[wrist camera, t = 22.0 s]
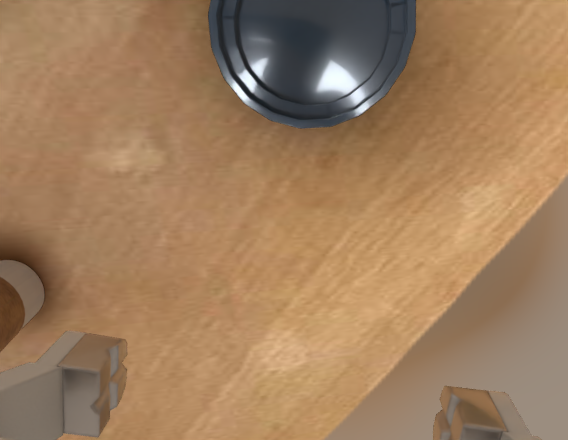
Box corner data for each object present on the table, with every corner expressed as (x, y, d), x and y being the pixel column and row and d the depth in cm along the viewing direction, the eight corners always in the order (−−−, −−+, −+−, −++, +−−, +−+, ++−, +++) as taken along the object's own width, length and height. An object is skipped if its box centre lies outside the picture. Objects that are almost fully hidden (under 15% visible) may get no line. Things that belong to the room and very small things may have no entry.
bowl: (180, 14, 39) (167, 10, 36) (328, -129, 35) (327, -146, 32) (298, 160, 41) (296, 167, 38) (449, 39, 37) (458, 37, 35)
